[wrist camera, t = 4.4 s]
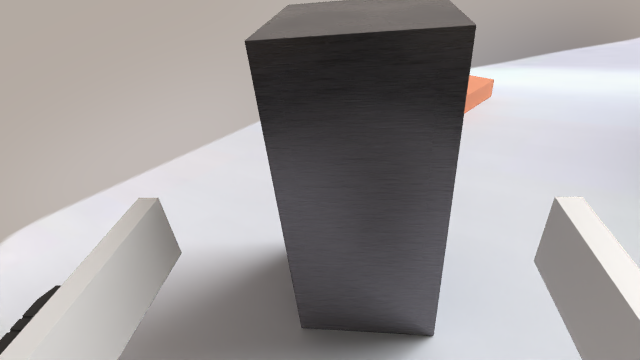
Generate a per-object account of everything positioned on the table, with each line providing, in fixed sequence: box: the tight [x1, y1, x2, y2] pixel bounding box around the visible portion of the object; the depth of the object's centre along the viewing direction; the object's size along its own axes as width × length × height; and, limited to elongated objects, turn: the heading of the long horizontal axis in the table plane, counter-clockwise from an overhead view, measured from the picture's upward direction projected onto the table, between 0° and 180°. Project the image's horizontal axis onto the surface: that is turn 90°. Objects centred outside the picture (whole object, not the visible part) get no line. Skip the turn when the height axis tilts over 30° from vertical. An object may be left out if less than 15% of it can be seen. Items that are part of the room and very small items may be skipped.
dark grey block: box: [245, 0, 476, 336], centre depth 15 cm, size 6×6×13 cm
